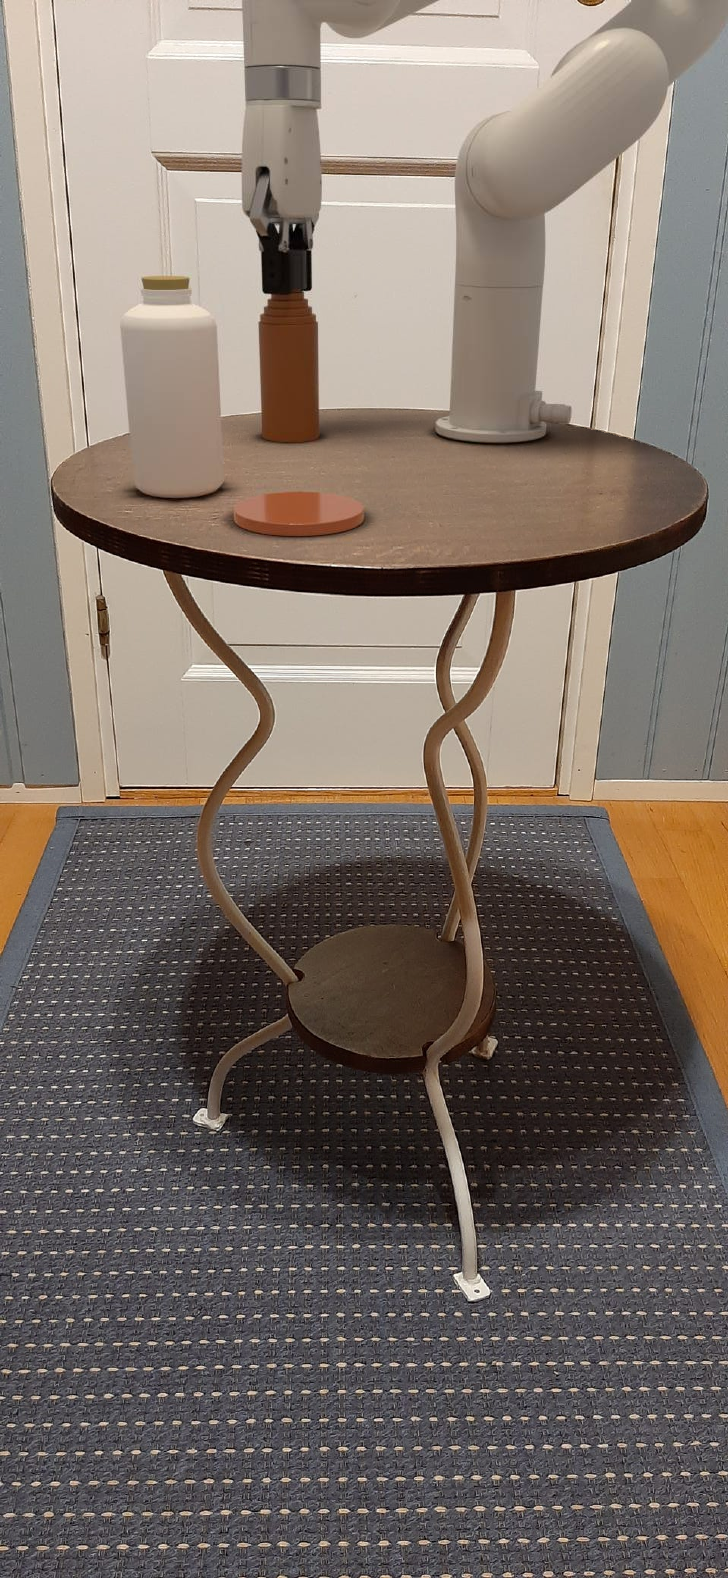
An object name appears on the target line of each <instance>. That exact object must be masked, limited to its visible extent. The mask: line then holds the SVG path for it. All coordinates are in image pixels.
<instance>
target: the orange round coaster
mask: <svg viewBox="0 0 728 1578" xmlns="http://www.w3.org/2000/svg"><path fill="white" fill-rule="evenodd" d="M232 509H233V510H232V511H233V522H234V523H235V524H236V525H237V526H238V527H240V528H241V529H244V530H247V531H250V532H254V533H257V534H258V533H259V534H264V535H270V536H279V537H280V536H281V537H312V536H313V537H314V536H315V537H316V536H325V535H332V534H338V533H342V532H345V531H350V530H352V529H355V528H357V527H359V526H360V525H362V523H363V522H364V520H365V507H364V505H363V504H362V503H361V501H358V500H357V499H354V498H351V497H348V496H344V495H340V494H335V493H329V492H328V493H326V492H316V491H315V492H314V491H286V492H285V491H284V492H283V491H282V492H272V493H266V494H259V495H255V496H250V497H248V498H244V499H242V500H240V501H237V503H235V504H234V506H233V508H232Z"/></svg>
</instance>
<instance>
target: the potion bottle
mask: <svg viewBox="0 0 728 1578" xmlns="http://www.w3.org/2000/svg"><path fill="white" fill-rule="evenodd" d="M141 281H142V287H141V288H140V293H141V296H142V297H143V298H142V299H143V302H141V303H139V304H137V305H136V306H134V307H131V308H130V309H129V310H128V311H126V312H125V313H124V314H123V315H122V318H121V319H120V325H119V326H120V340H121V350H122V351H121V352H122V362H123V363H122V365H123V375H124V385H125V399H126V409H127V420H128V433H129V444H130V445H129V447H130V455H131V466H132V469H131V471H132V479H133V485H134V486H135V488H136V489H138V491H140V492H141V493H143V494H145V495H149V496H151V497H157V498H164V499H166V498H167V499H188V498H196V497H201V496H206V495H209V494H212V493H214V492H217V490H218V489H219V488H220V487H221V486H222V485H223V483H224V482H225V474H224V473H225V471H224V470H225V469H224V451H223V450H224V449H223V430H222V429H223V428H222V409H221V408H222V407H221V406H222V405H221V387H220V367H219V364H220V363H219V349H218V348H219V346H218V344H219V343H218V327H217V322H216V319H215V318H214V317H213V315H212V314H211V312H209V311H207V310H206V309H205V308H204V307H201V306H200V305H197V304H195V303H193V302H192V301H191V296H192V291H193V289H192V288H191V287H190V277H189V276H184V275H183V276H182V275H151V276H150V275H149V276H142V277H141Z"/></svg>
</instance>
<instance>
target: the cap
mask: <svg viewBox="0 0 728 1578" xmlns="http://www.w3.org/2000/svg"><path fill="white" fill-rule="evenodd" d="M286 252H291V268H292V290H298V289H306V288H307V257H306V250H298V249H287V251H286Z"/></svg>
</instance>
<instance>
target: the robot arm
mask: <svg viewBox="0 0 728 1578" xmlns="http://www.w3.org/2000/svg"><path fill="white" fill-rule="evenodd" d="M439 1H440V0H241V8H242V10H241V11H242V13H241V14H242V38H243V39H242V41H243V68H244V70H243V71H244V72H243V73H244V94H245V95H244V97H245V98H244V100H245V102H244V103H245V110H244V116H243V127H242V141H241V143H242V145H241V207H242V212H243V214H244V215H245V216H246V217H247V218H248V219H249V223H251V225H252V227H253V228H254V229H255V233H256V235H257V238H258V250H259V252H260V262H261V263H260V265H261V287H262V288H261V291H262V293H263V294H265V295H271V294H278V295H289V294H291V293H292V268H291V252H286V251H287V249H298V250H306V257H307V288H306V289H301V291H303V292H310V291H312V290H313V259H312V258H313V257H312V256H313V254H312V252H313V251H312V250H313V248H314V235H313V234H314V231H315V227H316V224H317V223H318V220H319V218H320V211H321V208H322V195H323V193H322V192H323V178H322V177H323V174H322V154H321V153H322V151H321V139H320V138H321V137H320V127H319V118H318V110H320V109H322V70H321V68H322V64H321V63H322V58H321V51H322V49H321V48H322V47H321V46H322V45H321V28H322V25H323V23H325V24H326V25H327V26H328V27H329V28H330V29H331V30H332V31H333V32H335V33H336V34H337V35H339V36H342V37H344V38H348V39H362V38H365V37H368V36H370V35H372V34H375V33H377V32H378V31H381V30H382V29H384V28H386V27H389V26H391V25H393V24H395V23H397V22H400V21H401V20H403V19H404V18H407V17H408V16H411V15H412V14H415V13H418V12H419V11H421V10H423V9H424V8H427V7H429V6H430V5H433V4H435V3H437V2H439ZM727 24H728V0H631V1H630V2H629V3H628V4H626V6H625V7H623V8H622V9H621V10H619V11H618V12H617V13H616V14H615V15H614V16H613V17H611V18H609V20H608V21H607V22H605V23H604V24H603V25H602V26H601V27H600V28H598V29H596V30H595V31H594V32H593V33H592V34H590V35H589V36H588V37H587V38H585V39H583V40H581V41H580V42H578V43H577V44H575V45H574V46H573V47H571V49H570V50H568V51H567V52H566V53H565V54H564V56H563V57H562V58H561V59H560V60H559V61H558V63H557V65H556V66H555V67H554V69H553V71H552V73H551V74H550V77H549V78H548V79H547V80H546V81H544V83H543V84H541V85H540V86H539V87H538V88H537V89H535V90H534V91H533V92H532V93H530V94H529V95H528V96H527V97H526V98H525V99H523V100H522V101H521V102H520V103H519V104H517V105H516V106H515V107H514V108H512V109H511V110H508V111H504V112H500V113H496V114H492V115H490V116H488V117H486V118H485V119H483V120H481V121H479V122H478V123H477V124H475V126H473V128H472V129H471V130H470V131H469V132H468V134H467V135H466V137H465V139H464V141H463V143H462V144H461V147H460V149H459V152H458V154H457V159H456V164H455V171H454V205H455V206H454V207H455V208H454V209H455V229H456V230H455V233H456V234H455V272H454V292H453V293H454V295H453V296H454V297H453V319H452V321H453V322H452V341H451V342H452V344H451V346H452V347H451V368H450V371H451V372H450V394H449V395H450V396H449V415H447V416H443V417H440V418H438V419H437V420H436V421H435V424H434V425H435V427H434V428H435V432H436V433H437V434H438V435H439V436H442V437H445V438H447V439H452V440H456V441H457V440H458V441H462V442H463V441H464V442H472V443H490V444H491V443H492V444H493V443H494V444H498V443H499V444H505V443H507V444H509V443H523V442H529V441H535V440H538V439H541V438H543V437H545V435H547V428H548V427H547V426H548V425H547V423H553V424H561V425H569V424H570V423H571V419H572V414H573V413H572V409H573V408H572V405H566V404H564V403H546V401H545V400H543V390H536V387H537V386H536V385H537V374H538V372H537V371H538V360H539V359H538V358H539V347H540V346H539V345H540V333H541V318H542V307H543V305H542V303H543V290H544V280H545V269H546V214H547V213H548V212H550V211H552V210H553V209H555V208H556V207H557V206H559V205H560V204H562V203H563V202H564V201H566V200H567V199H568V198H570V197H571V196H572V195H573V194H575V193H576V192H577V191H579V189H580V188H582V187H583V186H584V185H586V184H587V183H588V182H590V181H591V180H592V179H593V178H594V177H595V176H597V175H598V174H599V173H600V172H601V171H603V170H604V169H605V168H606V167H608V166H609V165H610V164H612V163H613V162H614V161H615V160H616V159H617V158H619V157H620V156H621V155H622V154H623V153H625V152H626V151H627V150H629V148H631V147H632V146H633V145H634V144H635V143H636V142H637V141H639V140H640V139H641V138H642V137H643V136H644V135H645V134H646V132H647V131H648V130H649V129H650V128H651V127H652V125H653V124H654V123H655V122H656V120H657V119H658V117H659V115H660V113H661V111H662V109H663V107H664V104H665V101H666V98H667V94H668V88H669V87H670V86H671V85H673V83H674V82H675V81H677V79H679V78H680V77H681V76H682V75H683V74H684V73H685V72H686V71H687V70H689V69H690V68H691V67H692V66H693V65H694V64H696V63H697V62H698V61H699V60H700V59H701V58H702V57H703V56H704V55H705V54H706V53H707V52H708V51H709V50H710V49H711V47H712V46H713V45H714V44H715V42H716V41H717V40H718V38H719V37H720V36H721V34H722V32H723V30H724V29H725V27H726V25H727ZM294 225H295V226H294ZM276 226H278V229H277V227H276ZM546 422H547V423H546Z"/></svg>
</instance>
